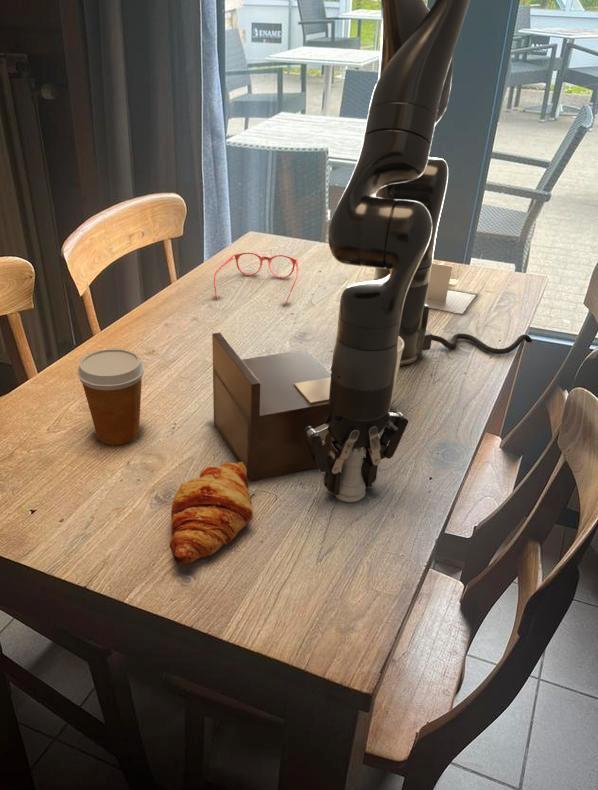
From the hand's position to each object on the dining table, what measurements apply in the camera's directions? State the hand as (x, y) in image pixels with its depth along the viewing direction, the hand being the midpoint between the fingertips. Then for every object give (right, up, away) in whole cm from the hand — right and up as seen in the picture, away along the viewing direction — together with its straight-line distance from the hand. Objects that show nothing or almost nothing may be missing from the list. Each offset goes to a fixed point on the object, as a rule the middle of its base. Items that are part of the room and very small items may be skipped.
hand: (349, 487), depth 96 cm
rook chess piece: (0, -1, +1) cm, 1 cm away
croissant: (-18, -5, -4) cm, 19 cm away
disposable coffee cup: (-33, +8, +13) cm, 36 cm away
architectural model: (+27, +40, +56) cm, 74 cm away
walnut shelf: (-9, +7, +11) cm, 16 cm away
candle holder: (+5, +12, +18) cm, 23 cm away
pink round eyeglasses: (-10, +43, +60) cm, 75 cm away
